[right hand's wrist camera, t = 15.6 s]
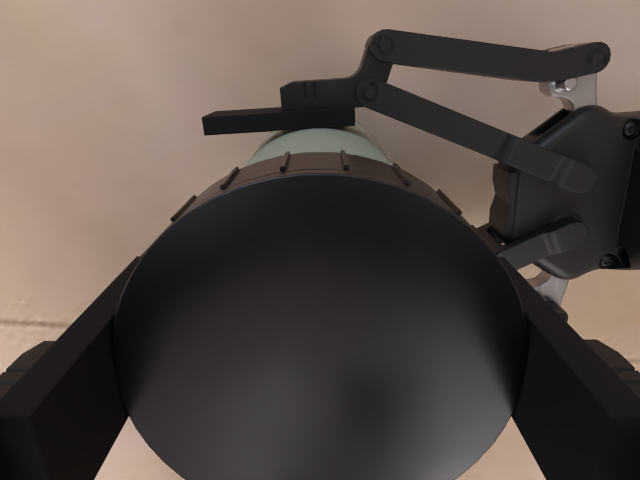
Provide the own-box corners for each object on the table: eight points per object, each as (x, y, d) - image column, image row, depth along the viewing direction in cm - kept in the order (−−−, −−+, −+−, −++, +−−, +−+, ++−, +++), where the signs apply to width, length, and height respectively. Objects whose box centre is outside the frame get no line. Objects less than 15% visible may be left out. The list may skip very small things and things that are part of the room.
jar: (409, 148, 27) (566, 293, 10) (347, 259, 30) (386, 526, 13) (287, 86, 26) (222, 128, 9) (234, 207, 29) (103, 426, 11)
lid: (566, 248, 12) (624, 290, 9) (387, 490, 15) (398, 564, 13) (223, 76, 10) (197, 79, 8) (104, 386, 13) (61, 450, 11)
